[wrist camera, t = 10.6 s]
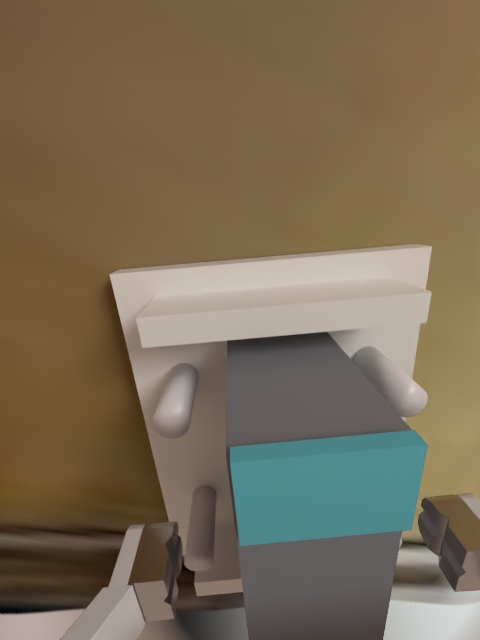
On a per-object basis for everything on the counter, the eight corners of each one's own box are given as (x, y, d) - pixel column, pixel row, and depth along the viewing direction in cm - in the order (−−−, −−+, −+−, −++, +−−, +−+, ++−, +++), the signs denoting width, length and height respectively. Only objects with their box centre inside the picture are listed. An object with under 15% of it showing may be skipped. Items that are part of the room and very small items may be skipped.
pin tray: (415, 243, 11) (506, 257, 8) (379, 518, 17) (422, 603, 13) (119, 269, 11) (65, 295, 8) (180, 536, 17) (166, 628, 13)
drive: (325, 324, 11) (432, 443, 5) (320, 503, 15) (382, 697, 9) (226, 333, 11) (224, 463, 5) (245, 511, 15) (256, 709, 9)
